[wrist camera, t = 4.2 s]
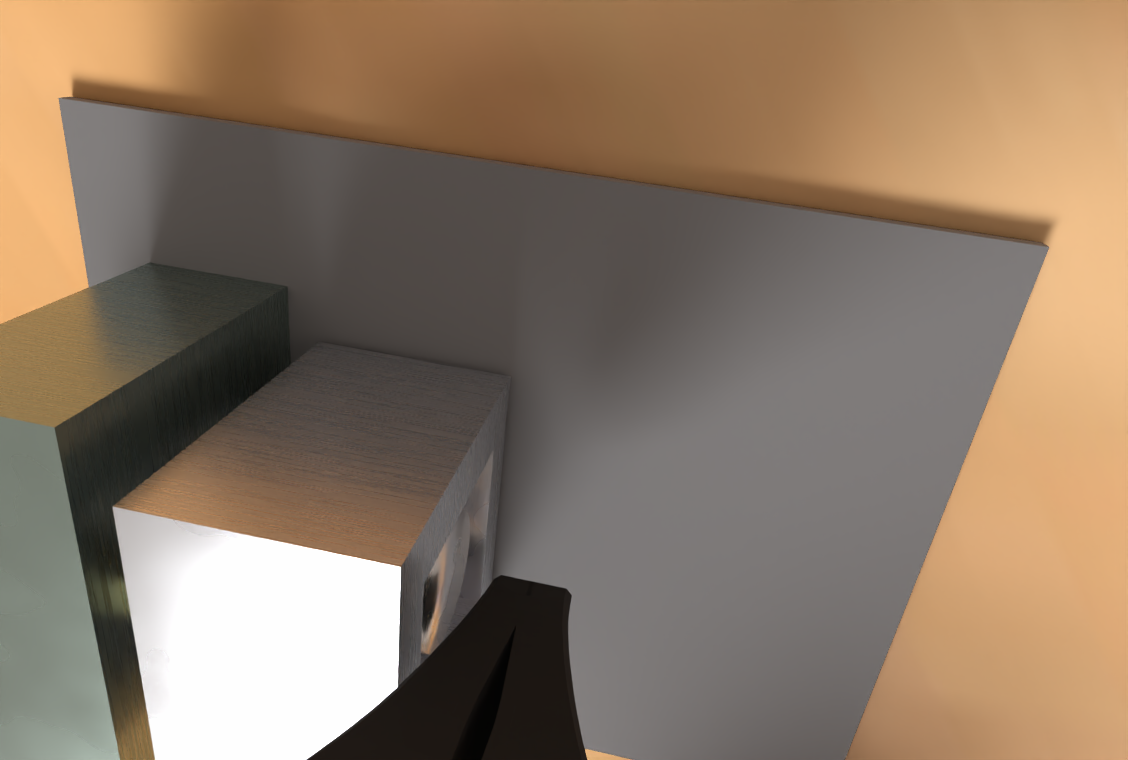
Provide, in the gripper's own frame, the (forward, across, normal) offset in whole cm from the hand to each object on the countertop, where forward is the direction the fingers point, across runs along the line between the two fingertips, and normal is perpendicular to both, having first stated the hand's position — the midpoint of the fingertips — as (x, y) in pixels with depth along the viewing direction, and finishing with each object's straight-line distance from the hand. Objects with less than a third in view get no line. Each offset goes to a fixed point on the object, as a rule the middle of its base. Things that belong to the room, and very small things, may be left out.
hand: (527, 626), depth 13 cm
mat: (+4, +2, 0) cm, 4 cm away
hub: (+4, +3, 0) cm, 5 cm away
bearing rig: (+4, +6, 0) cm, 7 cm away
